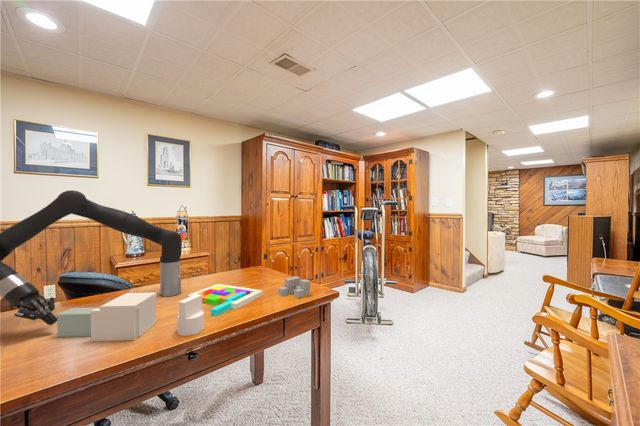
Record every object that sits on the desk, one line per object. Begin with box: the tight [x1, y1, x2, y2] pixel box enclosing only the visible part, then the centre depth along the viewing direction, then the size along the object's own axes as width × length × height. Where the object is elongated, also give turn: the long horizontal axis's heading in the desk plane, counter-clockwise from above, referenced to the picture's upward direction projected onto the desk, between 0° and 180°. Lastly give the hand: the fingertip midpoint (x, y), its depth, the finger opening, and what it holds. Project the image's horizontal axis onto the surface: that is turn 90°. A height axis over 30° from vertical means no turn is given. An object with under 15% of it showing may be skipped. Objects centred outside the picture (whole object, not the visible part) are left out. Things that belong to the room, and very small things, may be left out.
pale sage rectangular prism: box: [56, 306, 100, 338], centre depth 97 cm, size 12×6×8 cm, turn 95°
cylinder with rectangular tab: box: [176, 294, 205, 337], centre depth 100 cm, size 9×9×12 cm
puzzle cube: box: [277, 275, 311, 299], centre depth 140 cm, size 12×12×8 cm
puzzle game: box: [186, 283, 264, 317], centre depth 131 cm, size 30×3×30 cm
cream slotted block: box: [90, 292, 158, 342], centre depth 98 cm, size 14×14×12 cm
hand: (54, 322), depth 96 cm, fingers closed
